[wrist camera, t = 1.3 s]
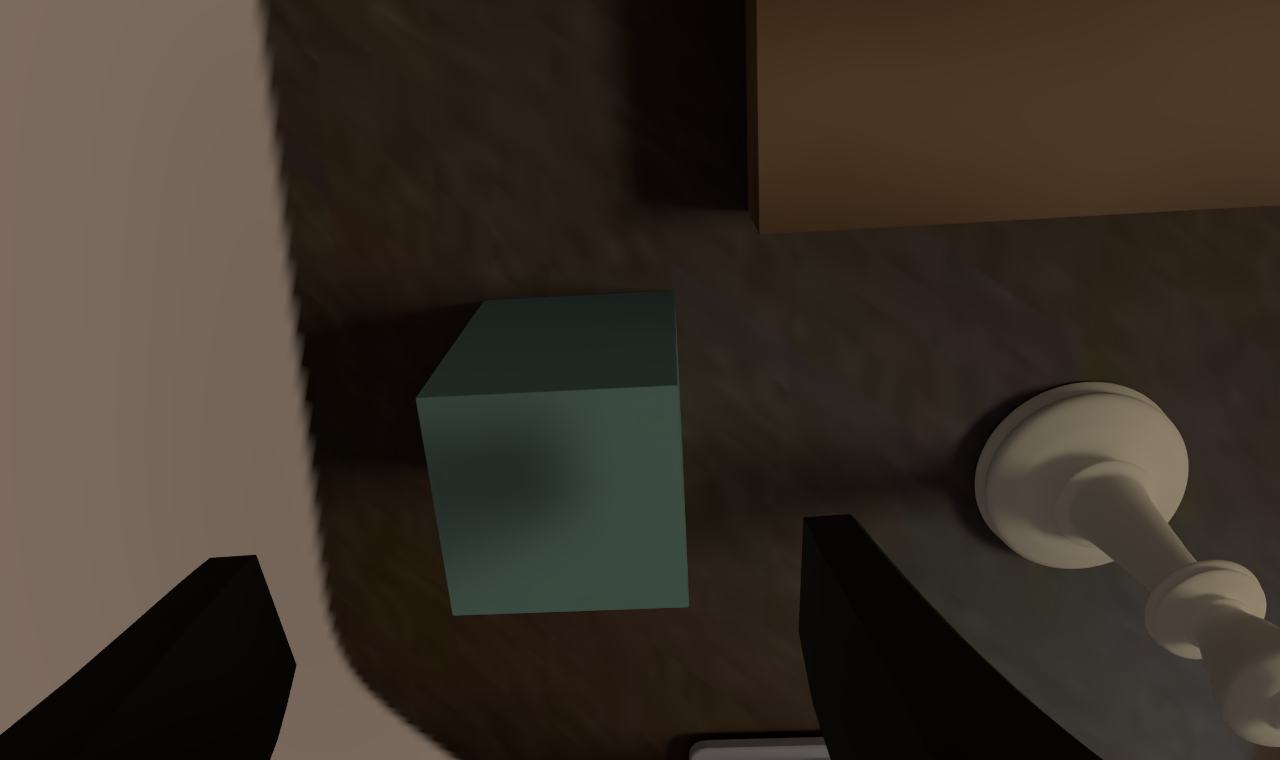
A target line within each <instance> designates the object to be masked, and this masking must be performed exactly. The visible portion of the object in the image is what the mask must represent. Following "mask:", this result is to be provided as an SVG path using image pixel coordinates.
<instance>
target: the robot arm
mask: <svg viewBox="0 0 1280 760" xmlns="http://www.w3.org/2000/svg"><path fill="white" fill-rule="evenodd" d="M799 635H800V640H801V646H802V651H803V656H804V661H805V667H806V672H807V677H808V682H809V687H810V692H811V696H812V701H813V705H814V709H815V712H816V715H817V718H818V722H819V725H820V728H821V731H822V734H823V737H804V738H768V739H732V740H704V741H699V742H697V743H696V744H694V745H693V746H692V747H691V749H690V752H689V760H1103V759H1101V758H1100V757H1099V756H1097V755H1096V754H1095V753H1093V752H1092V751H1091V750H1089V749H1088V748H1087V747H1086V746H1084V745H1083V744H1082V743H1081V742H1079V741H1078V740H1077V739H1076V738H1074V737H1073V736H1072V735H1071V734H1070V733H1068V732H1067V731H1066V730H1065V729H1063V728H1062V727H1061V726H1060V725H1058V724H1057V723H1056V722H1055V721H1054V720H1052V719H1051V718H1050V717H1049V716H1048V715H1046V714H1045V713H1044V712H1043V711H1042V710H1041V709H1039V708H1038V707H1037V706H1036V705H1035V704H1034V703H1032V702H1031V701H1030V700H1029V699H1028V698H1027V697H1026V696H1024V695H1023V694H1022V693H1021V692H1020V691H1019V690H1018V689H1017V688H1015V687H1014V686H1013V685H1012V684H1011V683H1010V682H1009V681H1008V680H1007V679H1006V678H1005V677H1004V676H1002V675H1001V674H1000V673H999V672H998V671H997V670H996V669H995V668H994V667H993V666H992V665H991V664H990V663H989V662H987V661H986V660H985V659H984V658H983V657H982V656H981V655H980V654H979V653H978V652H977V651H976V650H975V649H974V648H973V647H972V646H971V645H970V644H969V643H968V642H967V641H966V640H965V639H964V638H963V637H962V636H961V635H960V634H959V633H958V632H957V631H956V630H955V629H954V628H953V627H952V626H951V625H950V624H949V623H948V622H947V621H946V620H945V619H944V618H943V617H942V616H941V615H940V614H939V613H938V611H937V610H936V609H935V608H934V607H933V606H932V605H931V604H930V603H929V602H928V601H927V600H926V599H925V598H924V597H923V596H922V595H921V594H920V592H919V591H918V590H917V589H916V588H915V587H914V586H913V585H912V584H911V583H910V581H909V580H908V579H907V578H906V577H905V576H904V575H903V574H902V572H901V571H900V570H899V569H898V568H897V567H896V566H895V565H894V563H893V562H892V561H891V560H890V559H889V558H888V556H887V555H886V554H885V553H884V552H883V551H882V549H881V548H880V547H879V546H878V545H877V544H876V542H875V541H874V540H873V539H872V538H871V536H870V535H869V534H868V533H867V532H866V530H865V529H864V528H863V527H862V526H861V524H860V523H859V522H858V521H857V520H856V519H855V518H854V517H853V516H852V515H850V514H847V515H832V516H817V517H804V519H803V543H802V566H801V590H800V613H799ZM295 669H296V663H295V660H294V657H293V654H292V652H291V649H290V646H289V644H288V641H287V638H286V635H285V632H284V630H283V627H282V624H281V621H280V619H279V616H278V613H277V611H276V608H275V605H274V603H273V600H272V597H271V594H270V592H269V589H268V586H267V583H266V581H265V578H264V575H263V573H262V570H261V567H260V564H259V561H258V559H257V556H256V555H247V556H231V557H216V558H209V559H208V560H207V561H206V562H204V563H203V564H202V565H201V566H199V567H198V568H197V569H196V570H194V571H193V572H192V573H191V574H190V575H188V576H187V577H186V578H185V579H184V580H182V581H181V582H180V583H179V584H178V585H177V586H176V587H174V588H173V589H172V590H171V591H170V592H169V593H168V594H166V595H165V596H164V597H163V598H162V599H161V600H159V601H158V602H157V603H156V604H155V605H154V606H153V607H152V608H150V609H149V610H148V611H147V612H146V613H145V614H144V615H142V616H141V617H140V618H139V619H138V620H137V621H136V622H135V623H133V624H132V625H131V626H130V627H129V628H128V629H127V630H125V631H124V632H123V633H122V634H121V635H120V636H119V637H117V638H116V639H115V640H114V641H113V642H111V643H110V644H109V645H108V646H107V647H106V648H105V649H103V650H102V651H101V652H100V653H99V654H98V655H97V656H95V657H94V658H93V659H92V660H91V661H90V662H89V663H87V664H86V665H85V666H84V667H83V668H81V669H80V670H79V671H78V672H77V673H76V674H75V675H73V676H72V677H71V678H70V679H69V680H67V682H65V683H64V684H63V685H61V686H60V687H59V688H58V689H56V690H55V691H54V692H53V693H52V694H50V695H49V696H48V697H47V698H45V699H44V700H43V701H42V702H40V703H39V704H38V705H37V706H36V707H34V708H33V709H32V710H31V711H29V712H28V713H27V714H26V715H24V716H23V717H22V718H21V719H20V720H18V721H17V722H16V723H14V725H12V726H11V727H10V728H8V729H7V730H6V731H5V732H3V733H2V734H1V735H0V760H270V759H271V756H272V753H273V751H274V748H275V745H276V743H277V740H278V736H279V733H280V729H281V725H282V721H283V718H284V714H285V711H286V707H287V703H288V698H289V694H290V690H291V686H292V682H293V677H294V673H295Z"/></svg>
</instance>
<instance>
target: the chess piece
mask: <svg viewBox="0 0 1280 760" xmlns="http://www.w3.org/2000/svg"><path fill="white" fill-rule="evenodd" d="M1187 479H1188V456H1187V451H1186V447H1185V444H1184V442H1183V439H1182V437H1181V435H1180V433H1179V432H1178V430H1177V428H1176V427H1175V426H1174V424H1173V423H1172V422H1171V421H1170V420H1169V418H1168V417H1167V416H1166V415H1165V414H1164V412H1163V411H1162V410H1161V409H1160V408H1159V407H1158V406H1157V405H1156V404H1155V403H1154V402H1153V401H1151V400H1150V399H1149V398H1147V397H1146V396H1144V395H1143V394H1141V393H1139V392H1137V391H1135V390H1133V389H1130V388H1127V387H1125V386H1121V385H1117V384H1112V383H1105V382H1081V383H1073V384H1068V385H1064V386H1060V387H1057V388H1054V389H1051V390H1048V391H1046V392H1043V393H1041V394H1039V395H1037V396H1035V397H1033V398H1031V399H1030V400H1028V401H1026V402H1025V403H1023V404H1022V405H1020V406H1019V407H1017V408H1016V409H1015V410H1014V411H1012V412H1011V413H1010V414H1009V415H1008V416H1007V417H1006V418H1005V419H1004V420H1003V421H1002V422H1001V423H1000V424H999V425H998V426H997V428H996V429H995V430H994V431H993V433H992V434H991V436H990V437H989V439H988V440H987V442H986V444H985V446H984V448H983V450H982V452H981V455H980V457H979V460H978V464H977V468H976V473H975V496H976V501H977V505H978V508H979V510H980V513H981V515H982V517H983V519H984V520H985V522H986V524H987V525H988V526H989V528H990V529H991V530H992V531H993V532H994V533H995V534H996V535H997V536H998V537H999V538H1000V539H1001V540H1002V541H1003V542H1004V543H1005V544H1006V545H1007V546H1008V547H1009V548H1011V549H1012V550H1013V551H1015V552H1016V553H1017V554H1019V555H1021V556H1022V557H1024V558H1026V559H1028V560H1030V561H1033V562H1035V563H1038V564H1041V565H1045V566H1049V567H1055V568H1065V569H1076V568H1088V567H1094V566H1098V565H1102V564H1106V563H1109V562H1112V561H1115V562H1116V563H1117V564H1119V565H1120V566H1121V567H1122V568H1124V569H1125V570H1126V571H1127V572H1128V573H1129V574H1131V575H1132V576H1133V577H1134V578H1135V579H1137V580H1138V581H1139V582H1140V583H1141V584H1142V585H1143V586H1144V587H1146V588H1147V589H1148V590H1149V591H1150V592H1151V594H1150V596H1149V598H1148V601H1147V603H1146V607H1145V612H1144V620H1145V625H1146V628H1147V631H1148V633H1149V634H1150V636H1151V637H1152V639H1153V640H1154V641H1155V642H1156V643H1158V644H1159V645H1160V646H1162V647H1163V648H1165V649H1167V650H1169V651H1170V652H1172V653H1174V654H1176V655H1178V656H1181V657H1185V658H1190V659H1202V660H1203V662H1204V665H1205V667H1206V669H1207V671H1208V673H1209V675H1210V678H1211V681H1212V684H1213V689H1214V694H1215V698H1216V700H1217V703H1218V706H1219V708H1220V711H1221V713H1222V715H1223V717H1224V719H1225V721H1226V722H1227V724H1228V725H1229V727H1230V728H1231V729H1232V730H1233V731H1234V732H1235V733H1236V734H1238V735H1239V736H1240V737H1242V738H1244V739H1245V740H1248V741H1250V742H1252V743H1255V744H1259V745H1263V746H1270V747H1280V628H1279V627H1277V626H1275V625H1274V624H1272V623H1270V622H1268V621H1266V620H1264V617H1265V613H1266V598H1265V595H1264V592H1263V590H1262V588H1261V586H1260V584H1259V582H1258V580H1257V578H1256V577H1255V576H1254V575H1253V574H1252V573H1251V572H1250V571H1249V570H1248V569H1246V568H1245V567H1243V566H1241V565H1239V564H1237V563H1234V562H1230V561H1225V560H1204V561H1198V562H1197V561H1196V560H1195V559H1194V558H1193V556H1192V555H1191V554H1190V553H1189V552H1188V550H1187V549H1186V548H1185V546H1184V545H1183V544H1182V542H1181V541H1180V540H1179V538H1178V537H1177V536H1176V534H1175V533H1174V532H1173V530H1172V529H1171V527H1170V526H1169V525H1168V522H1169V520H1170V519H1171V518H1172V516H1173V515H1174V513H1175V512H1176V510H1177V508H1178V506H1179V504H1180V502H1181V500H1182V497H1183V495H1184V492H1185V488H1186V484H1187Z"/></svg>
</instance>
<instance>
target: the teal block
mask: <svg viewBox="0 0 1280 760" xmlns="http://www.w3.org/2000/svg"><path fill="white" fill-rule="evenodd" d="M416 403H417V409H418V415H419V420H420V426H421V432H422V438H423V444H424V450H425V455H426V461H427V467H428V473H429V479H430V484H431V490H432V496H433V502H434V508H435V514H436V519H437V525H438V531H439V537H440V543H441V548H442V554H443V560H444V566H445V572H446V578H447V583H448V589H449V595H450V601H451V607H452V612H453V615H480V614H508V613H536V612H564V611H592V610H620V609H647V608H675V607H689V596H688V571H687V547H686V522H685V498H684V473H683V452H682V432H681V412H680V392H679V372H678V353H677V333H676V313H675V293H674V290H673V291H654V292H636V293H617V294H599V295H580V296H561V297H543V298H524V299H506V300H487V301H484V302H483V303H482V304H481V306H480V307H479V309H478V310H477V311H476V313H475V314H474V316H473V317H472V319H471V320H470V321H469V323H468V324H467V326H466V327H465V329H464V330H463V331H462V333H461V334H460V336H459V337H458V339H457V340H456V341H455V343H454V344H453V346H452V347H451V348H450V350H449V351H448V353H447V354H446V356H445V357H444V358H443V360H442V361H441V363H440V364H439V366H438V367H437V368H436V370H435V371H434V373H433V374H432V376H431V377H430V378H429V380H428V381H427V383H426V384H425V385H424V387H423V388H422V390H421V391H420V393H419V394H418V395H417V397H416Z"/></svg>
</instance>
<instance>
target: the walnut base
mask: <svg viewBox="0 0 1280 760" xmlns="http://www.w3.org/2000/svg"><path fill="white" fill-rule="evenodd" d="M745 51H746V107H747V164H748V212H749V214H750V216H751V218H752V220H753V222H754V224H755V226H756V228H757V230H758V233H759V235H763V234H780V233H798V232H815V231H833V230H850V229H868V228H886V227H903V226H921V225H938V224H956V223H973V222H991V221H1009V220H1026V219H1044V218H1061V217H1079V216H1096V215H1114V214H1132V213H1149V212H1167V211H1184V210H1202V209H1219V208H1237V207H1255V206H1272V205H1280V0H745Z"/></svg>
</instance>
